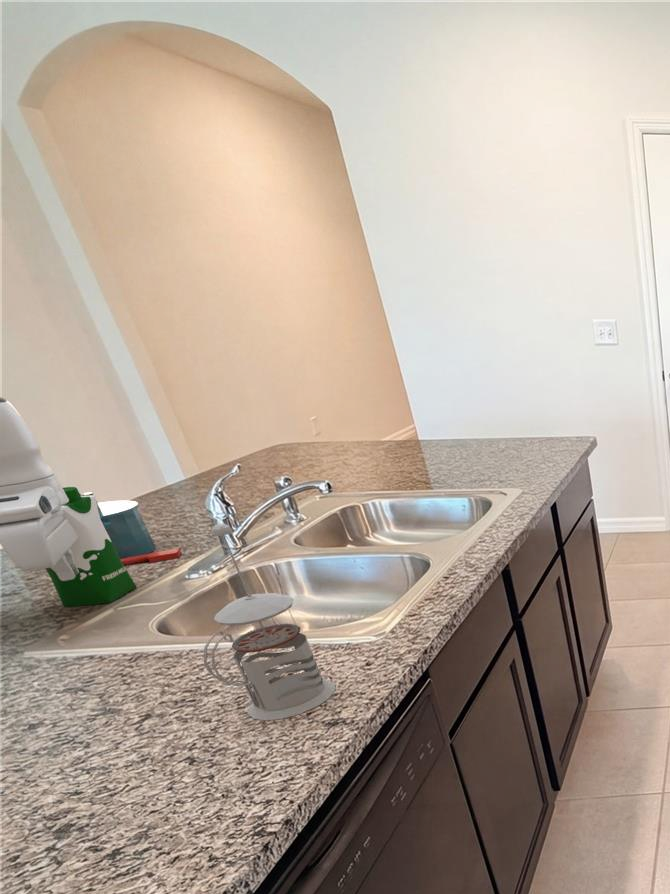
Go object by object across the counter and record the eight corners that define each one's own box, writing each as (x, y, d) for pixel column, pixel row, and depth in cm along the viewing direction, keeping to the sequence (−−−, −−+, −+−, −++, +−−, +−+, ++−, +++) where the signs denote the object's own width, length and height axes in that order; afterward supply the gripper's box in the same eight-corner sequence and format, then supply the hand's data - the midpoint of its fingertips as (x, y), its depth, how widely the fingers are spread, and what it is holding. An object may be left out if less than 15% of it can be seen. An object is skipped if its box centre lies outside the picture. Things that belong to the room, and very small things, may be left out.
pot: (79, 575, 128) (55, 530, 124) (69, 554, 139) (46, 512, 135) (163, 556, 137) (143, 513, 133) (147, 538, 147) (128, 497, 143)
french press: (351, 687, 91) (287, 516, 80) (261, 735, 81) (174, 549, 70) (307, 673, 94) (240, 507, 83) (215, 717, 85) (126, 537, 74)
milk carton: (112, 604, 116) (55, 496, 107) (52, 610, 114) (-11, 500, 106) (146, 585, 124) (95, 482, 115) (90, 589, 122) (34, 486, 113)
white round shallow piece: (51, 531, 125) (39, 508, 123) (45, 517, 133) (33, 495, 131) (145, 513, 135) (135, 492, 133) (134, 501, 143) (124, 481, 141)
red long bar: (76, 575, 128) (73, 569, 128) (80, 570, 131) (77, 564, 130) (179, 557, 136) (176, 551, 136) (181, 553, 139) (178, 547, 138)
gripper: (16, 487, 109) (60, 563, 115) (-28, 518, 93) (25, 604, 100) (69, 480, 112) (109, 554, 118) (34, 509, 97) (82, 592, 103)
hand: (70, 577), depth 109 cm, fingers closed
